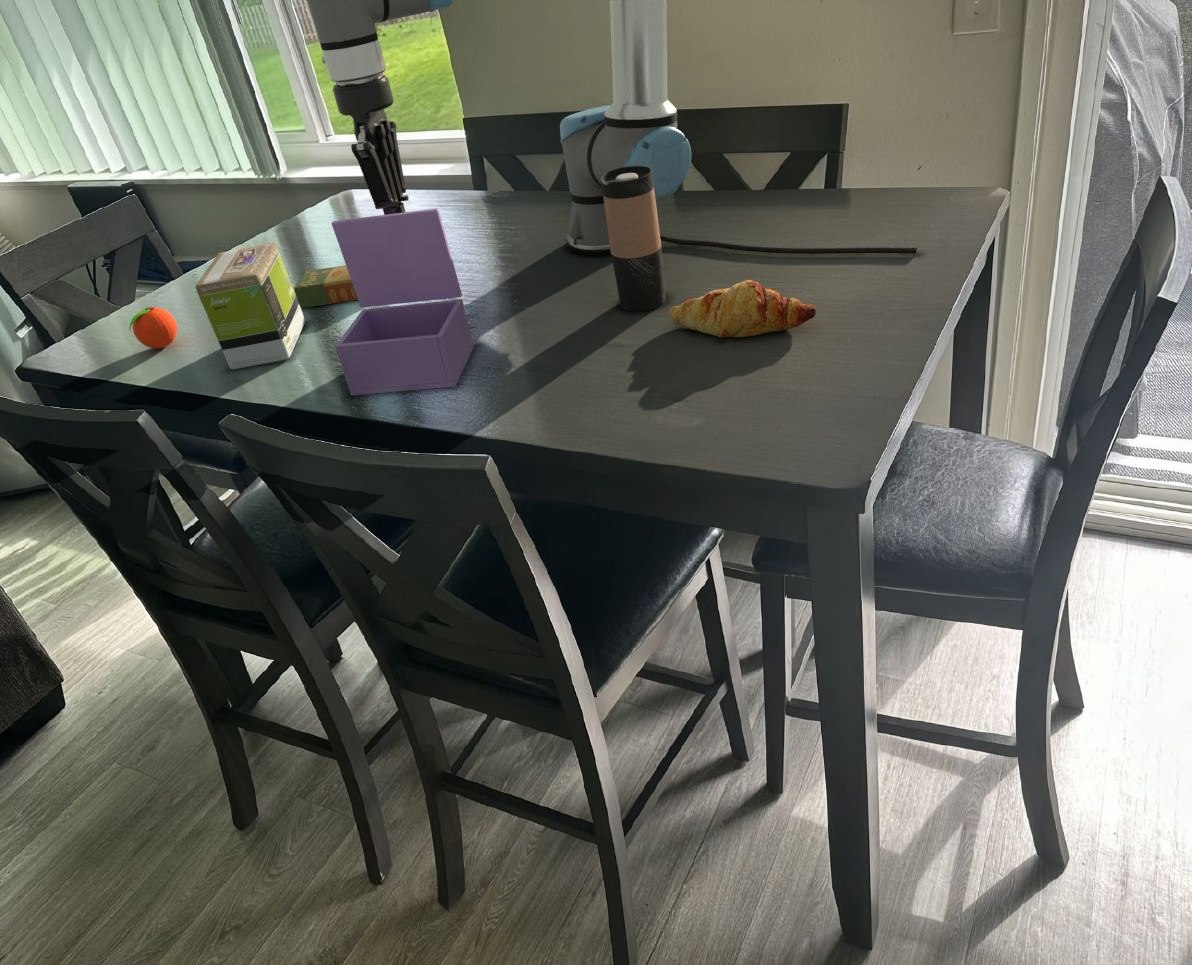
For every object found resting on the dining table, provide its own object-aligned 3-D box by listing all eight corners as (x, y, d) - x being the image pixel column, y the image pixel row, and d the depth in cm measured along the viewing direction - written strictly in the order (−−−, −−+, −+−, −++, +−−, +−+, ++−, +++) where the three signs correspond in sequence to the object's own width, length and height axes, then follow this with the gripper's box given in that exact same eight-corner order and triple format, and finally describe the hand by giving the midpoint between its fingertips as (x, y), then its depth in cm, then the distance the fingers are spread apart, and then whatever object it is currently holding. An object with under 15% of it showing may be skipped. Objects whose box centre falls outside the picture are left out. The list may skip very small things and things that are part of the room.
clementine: (153, 360, 156) (135, 321, 152) (129, 355, 160) (111, 317, 156) (192, 339, 162) (175, 301, 158) (167, 335, 165) (151, 298, 161)
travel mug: (672, 291, 147) (658, 164, 136) (659, 312, 142) (643, 180, 131) (627, 292, 150) (609, 166, 139) (612, 312, 144) (592, 183, 133)
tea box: (249, 332, 160) (218, 250, 152) (307, 322, 160) (278, 239, 152) (228, 371, 148) (192, 283, 139) (290, 360, 147) (258, 272, 139)
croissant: (668, 354, 137) (654, 321, 130) (680, 299, 141) (667, 264, 134) (814, 354, 129) (808, 319, 122) (823, 296, 133) (817, 259, 127)
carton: (386, 297, 165) (379, 274, 162) (299, 309, 166) (291, 286, 164) (395, 279, 172) (389, 257, 169) (312, 290, 173) (304, 268, 171)
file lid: (437, 210, 128) (438, 208, 129) (331, 223, 131) (332, 220, 131) (461, 297, 136) (462, 294, 137) (360, 307, 139) (362, 305, 140)
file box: (455, 386, 131) (441, 336, 127) (350, 395, 134) (334, 346, 129) (474, 346, 141) (462, 298, 137) (376, 355, 144) (362, 309, 140)
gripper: (348, 72, 130) (393, 236, 143) (315, 93, 120) (366, 267, 132) (399, 65, 129) (439, 231, 142) (370, 85, 118) (416, 262, 131)
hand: (404, 248), depth 137 cm, fingers closed
